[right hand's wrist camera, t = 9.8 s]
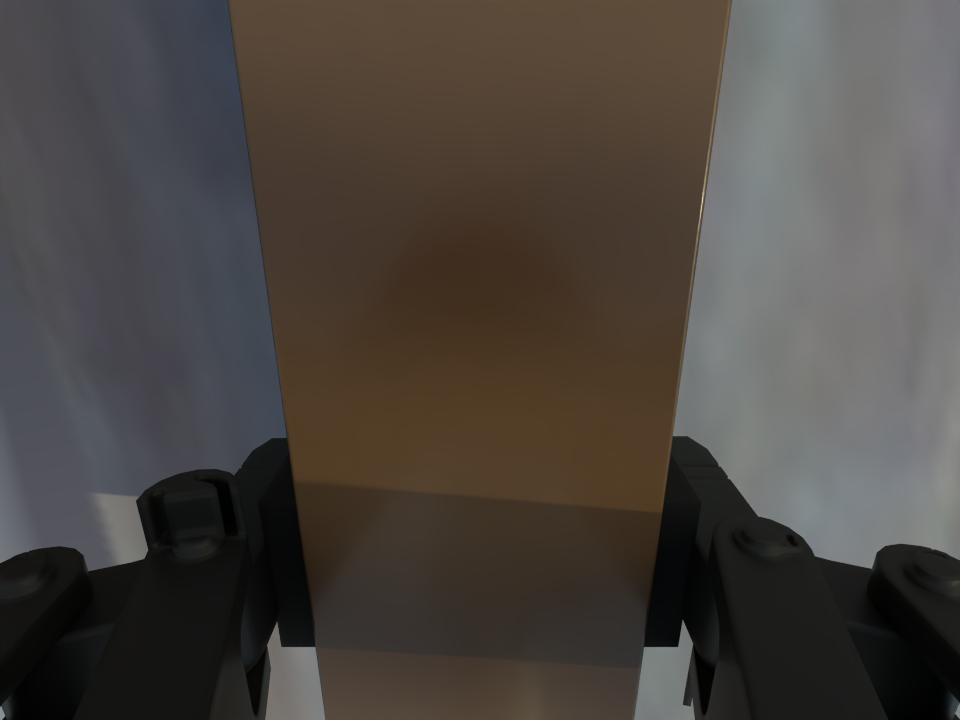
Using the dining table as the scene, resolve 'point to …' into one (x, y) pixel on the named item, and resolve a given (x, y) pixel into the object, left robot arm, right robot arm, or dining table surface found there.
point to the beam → (479, 331)
